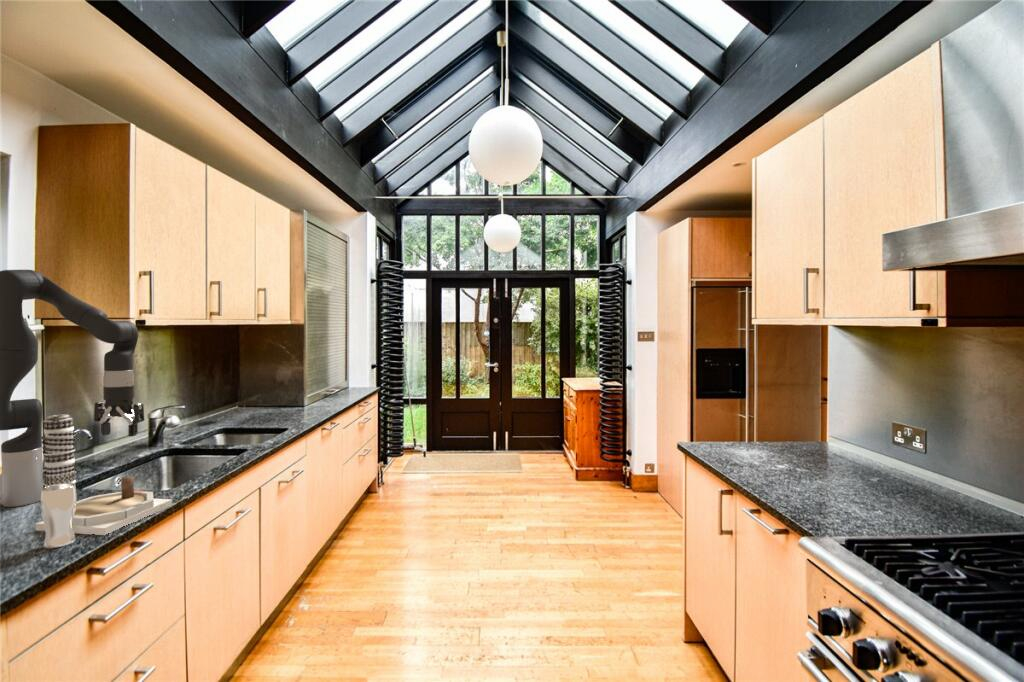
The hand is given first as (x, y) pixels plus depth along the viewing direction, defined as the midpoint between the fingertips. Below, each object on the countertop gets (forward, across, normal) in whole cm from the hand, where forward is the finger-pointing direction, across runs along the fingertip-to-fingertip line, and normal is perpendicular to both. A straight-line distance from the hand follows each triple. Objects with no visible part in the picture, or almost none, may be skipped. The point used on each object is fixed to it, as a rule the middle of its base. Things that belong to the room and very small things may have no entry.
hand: (119, 435), depth 151 cm
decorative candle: (+24, -39, +19) cm, 50 cm away
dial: (+20, +4, -9) cm, 22 cm away
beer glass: (+22, +6, -26) cm, 35 cm away
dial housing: (+22, +4, -9) cm, 25 cm away
